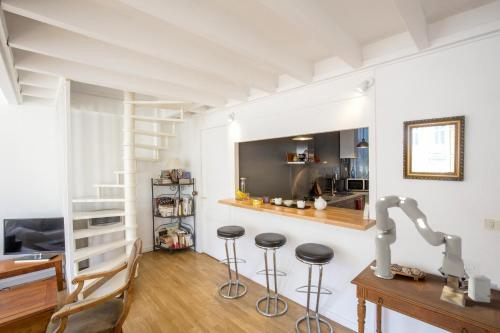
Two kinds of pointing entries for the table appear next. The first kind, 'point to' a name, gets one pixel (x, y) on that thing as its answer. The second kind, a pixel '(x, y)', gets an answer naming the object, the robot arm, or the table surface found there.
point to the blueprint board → (455, 303)
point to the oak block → (453, 295)
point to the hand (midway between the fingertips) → (453, 285)
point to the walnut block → (452, 282)
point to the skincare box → (479, 288)
